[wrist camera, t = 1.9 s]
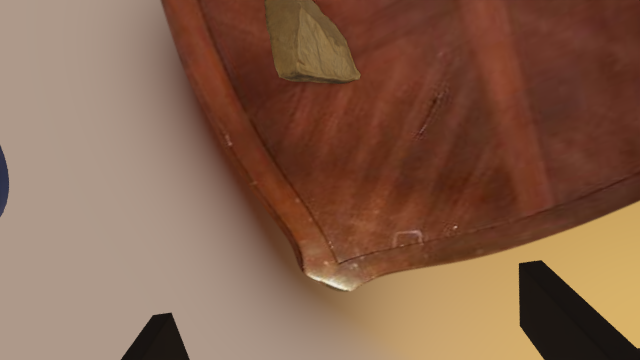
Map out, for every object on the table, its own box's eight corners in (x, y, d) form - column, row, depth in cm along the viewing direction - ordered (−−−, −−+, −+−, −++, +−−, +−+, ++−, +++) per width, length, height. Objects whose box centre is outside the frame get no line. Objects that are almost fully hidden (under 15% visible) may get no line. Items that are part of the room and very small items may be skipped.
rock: (233, -34, 29) (242, 87, 31) (282, -83, 22) (289, 76, 24) (334, -11, 35) (336, 89, 37) (397, -44, 28) (396, 81, 30)
